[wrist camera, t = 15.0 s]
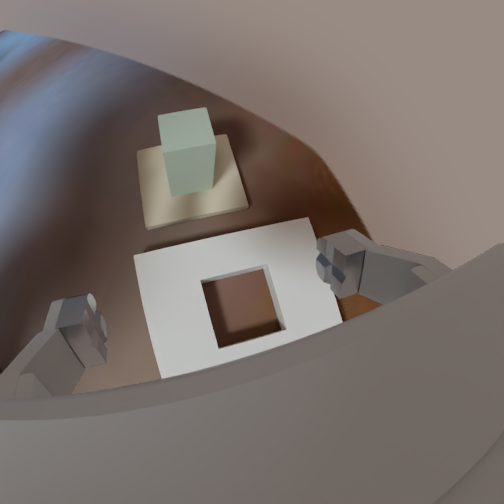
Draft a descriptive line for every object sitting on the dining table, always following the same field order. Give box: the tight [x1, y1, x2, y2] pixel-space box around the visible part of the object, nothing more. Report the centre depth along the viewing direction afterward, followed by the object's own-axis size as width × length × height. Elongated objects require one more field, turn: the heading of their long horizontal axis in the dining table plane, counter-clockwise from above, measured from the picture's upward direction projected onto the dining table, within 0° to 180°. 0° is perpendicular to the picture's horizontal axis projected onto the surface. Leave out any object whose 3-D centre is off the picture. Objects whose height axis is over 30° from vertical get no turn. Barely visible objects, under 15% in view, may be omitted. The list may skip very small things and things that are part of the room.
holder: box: [134, 217, 342, 379], centre depth 27 cm, size 18×14×2 cm
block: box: [158, 107, 216, 197], centre depth 26 cm, size 4×4×8 cm
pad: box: [136, 134, 249, 230], centre depth 31 cm, size 11×10×1 cm
